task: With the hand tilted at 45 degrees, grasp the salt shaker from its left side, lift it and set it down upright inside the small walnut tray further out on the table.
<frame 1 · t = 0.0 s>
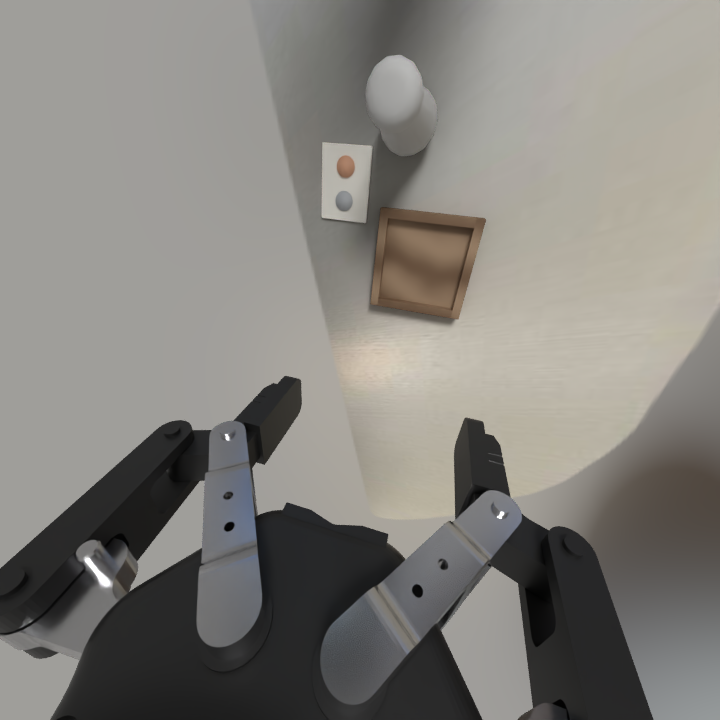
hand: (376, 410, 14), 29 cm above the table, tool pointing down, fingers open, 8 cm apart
walnut tray: (422, 263, 38), on the table
target card: (345, 184, 36), on the table
salt shaker: (411, 126, 32), on the table
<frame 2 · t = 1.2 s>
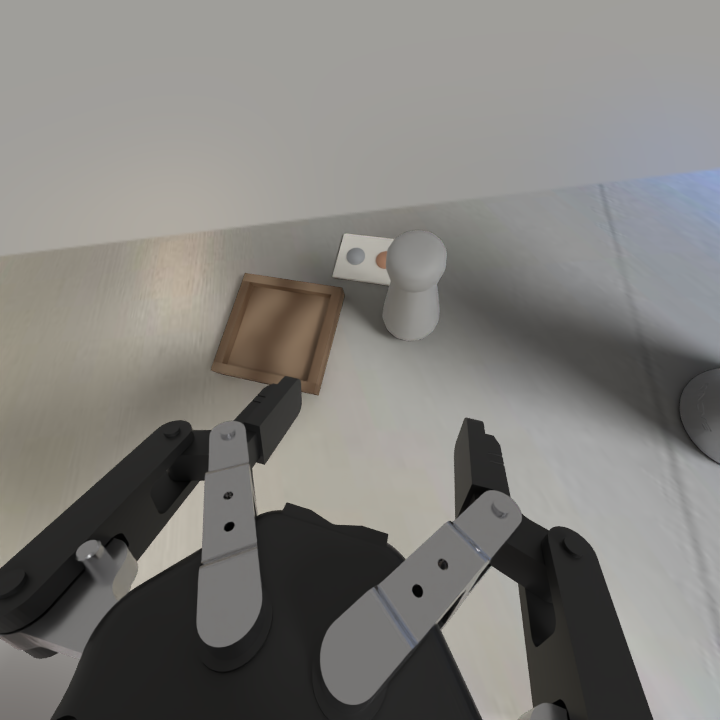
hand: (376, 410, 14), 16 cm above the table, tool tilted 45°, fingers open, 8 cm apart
walnut tray: (283, 334, 34), on the table
target card: (370, 260, 35), on the table
salt shaker: (409, 323, 32), on the table
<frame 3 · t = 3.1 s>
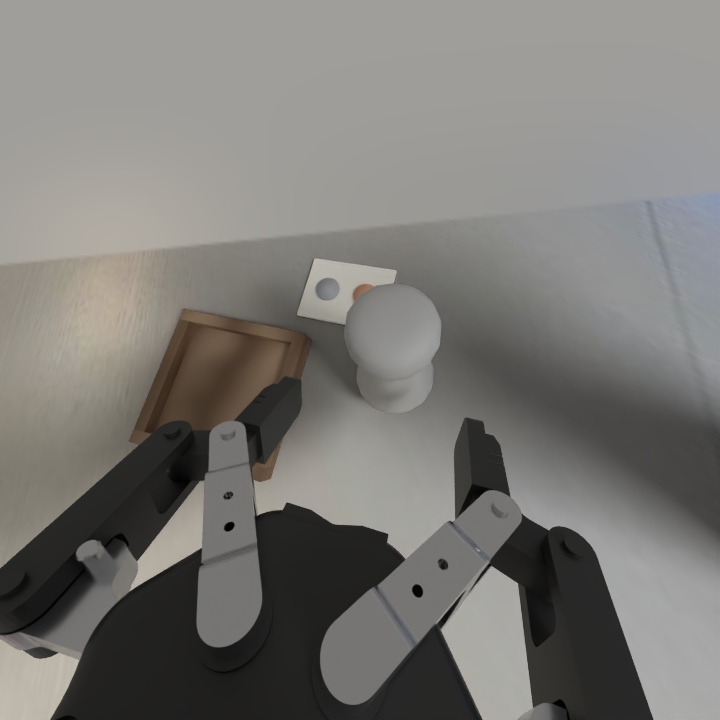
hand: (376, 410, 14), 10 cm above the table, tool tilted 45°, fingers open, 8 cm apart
walnut tray: (230, 390, 26), on the table
target card: (347, 294, 27), on the table
salt shaker: (394, 381, 25), on the table
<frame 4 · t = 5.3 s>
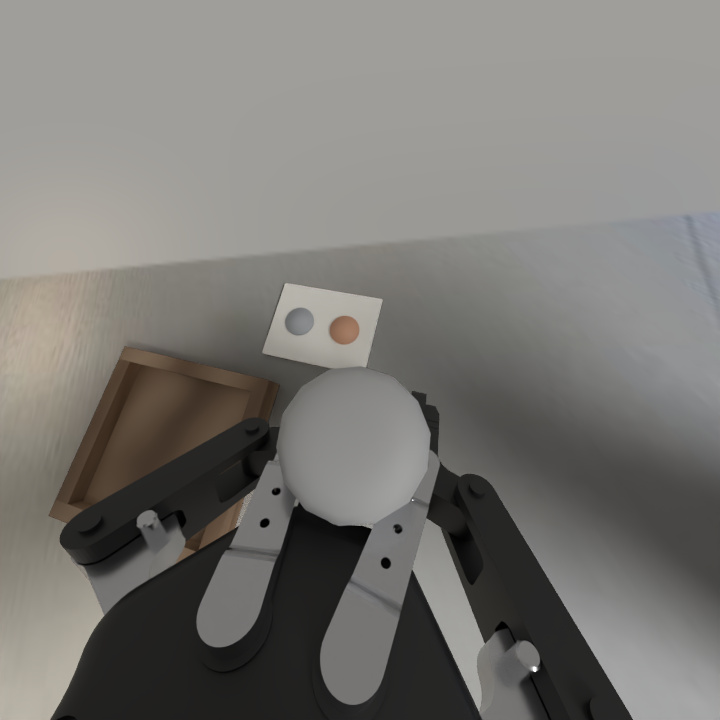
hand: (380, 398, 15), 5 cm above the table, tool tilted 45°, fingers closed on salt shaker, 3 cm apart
walnut tray: (179, 446, 21), on the table
target card: (323, 327, 22), on the table
salt shaker: (379, 439, 20), on the table, touching gripper
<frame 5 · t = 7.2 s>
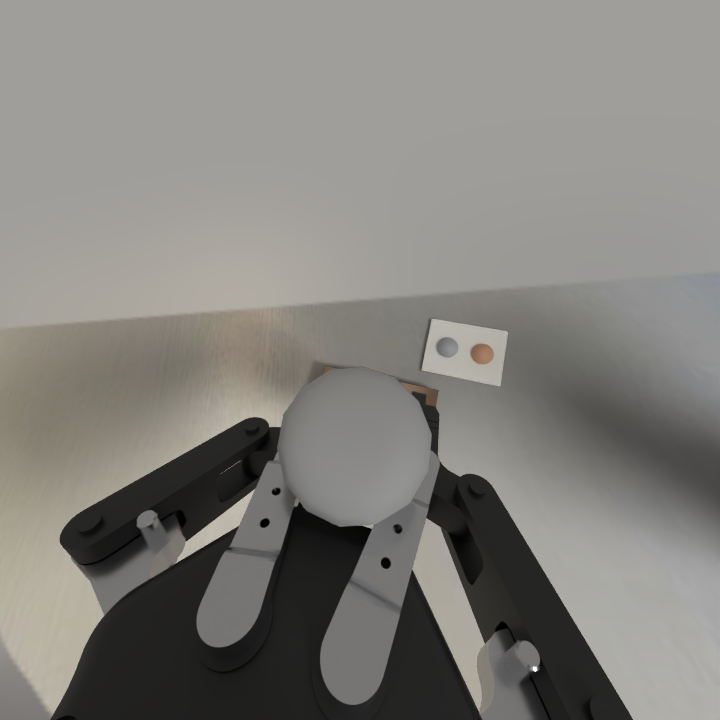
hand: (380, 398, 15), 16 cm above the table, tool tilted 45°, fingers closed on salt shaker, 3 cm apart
walnut tray: (368, 435, 31), on the table
target card: (464, 351, 31), on the table
salt shaker: (379, 439, 20), point 11 cm above the table, touching gripper
when the fingers open (8 cm above the table, at t = 9.6 s): salt shaker drops 1 cm, resting on walnut tray.
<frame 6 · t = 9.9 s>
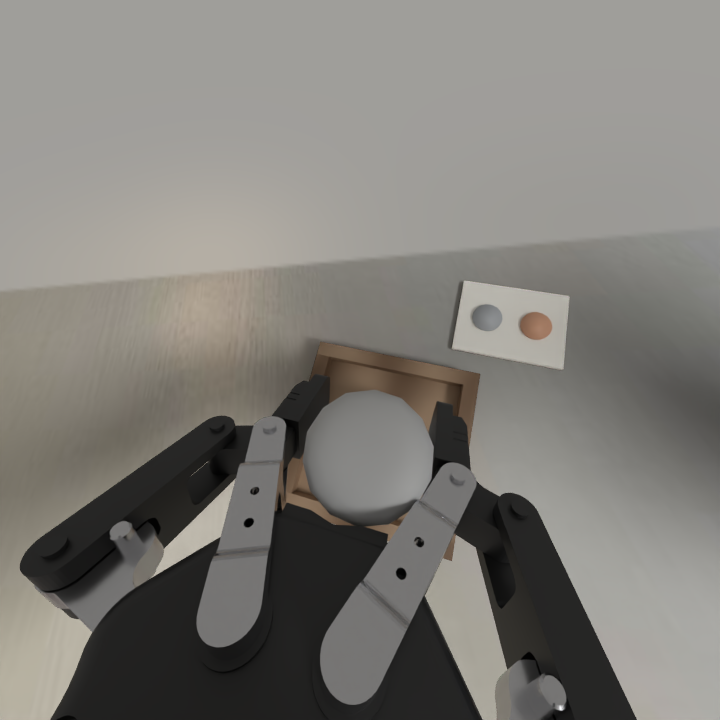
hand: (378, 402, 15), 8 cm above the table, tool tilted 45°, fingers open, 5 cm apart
walnut tray: (379, 438, 22), on the table
target card: (509, 323, 23), on the table
salt shaker: (384, 444, 21), point 1 cm above the table, touching walnut tray
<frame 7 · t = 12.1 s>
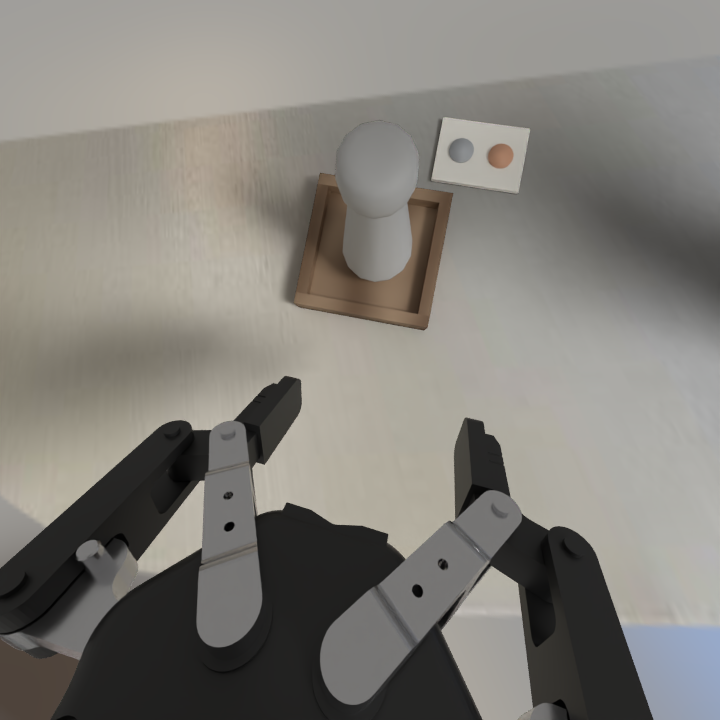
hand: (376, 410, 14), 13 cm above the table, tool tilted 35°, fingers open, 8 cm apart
walnut tray: (372, 256, 28), on the table
target card: (479, 156, 27), on the table
salt shaker: (377, 258, 27), point 1 cm above the table, touching walnut tray
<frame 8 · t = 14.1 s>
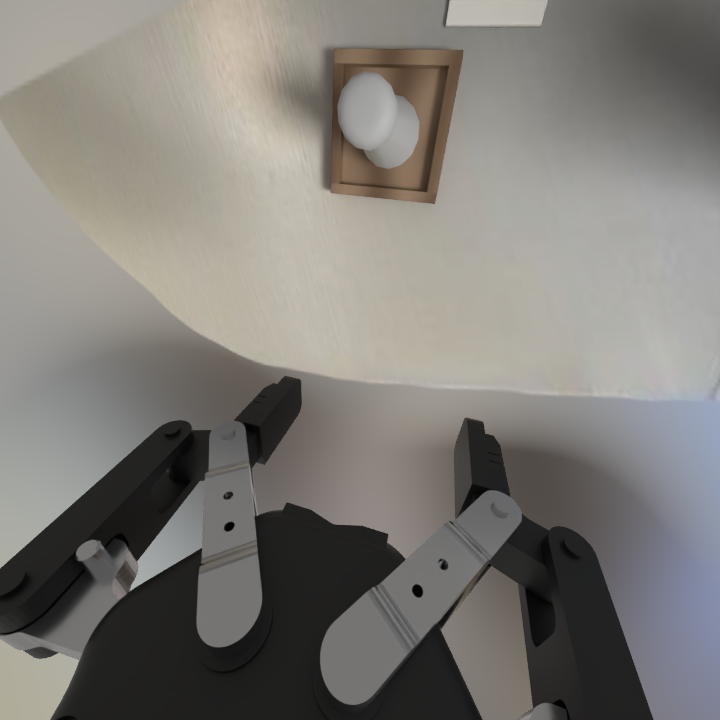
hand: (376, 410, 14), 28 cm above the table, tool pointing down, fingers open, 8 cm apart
walnut tray: (390, 134, 31), on the table
salt shaker: (393, 137, 31), point 1 cm above the table, touching walnut tray
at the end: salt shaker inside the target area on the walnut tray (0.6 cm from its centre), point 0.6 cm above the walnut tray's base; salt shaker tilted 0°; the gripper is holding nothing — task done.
